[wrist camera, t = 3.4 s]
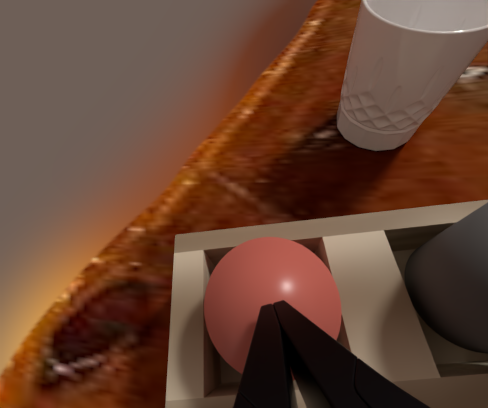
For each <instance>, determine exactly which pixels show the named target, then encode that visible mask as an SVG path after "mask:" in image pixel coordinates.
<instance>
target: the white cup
mask: <svg viewBox="0 0 488 408" xmlns="http://www.w3.org/2000/svg"><path fill="white" fill-rule="evenodd" d="M487 41H488V0H361V5H360V9H359V14H358V18H357V23H356V27H355V31H354V36H353V40H352V44H351V49H350V53H349V57H348V62H347V67H346V72H345V77H344V82H343V86H342V91H341V100H340V104H339V108H338V112H337V128H338V130H339V131H340V133H341V134H342V135H343V137H344V138H345V139H346V140H348V141H349V142H351V143H353V144H354V145H356V146H357V147H360V148H365V149H369V150H374V151H381V150H391V149H395V148H397V147H399V146H401V145H402V144H404V143H406V142H407V141H408V140H409V139H410V138H411V136H412V135H413V134H414V132H415V131H416V130H417V128H418V127H419V126H420V124H421V123H422V122H423V120H424V119H425V118H426V117H427V116H428V115H429V114H431V113H432V111H433V110H434V109H435V108H436V106H437V105H438V104H439V102H440V101H441V100H442V99H443V98H444V96H445V95H446V94H447V93H448V92H449V90H450V89H451V88H452V87H453V85H454V84H455V83H456V82H457V80H458V79H459V78H460V76H461V75H462V74H463V72H464V71H465V70H466V69H467V67H468V66H469V65H470V63H471V62H472V61H473V60H474V58H475V57H476V56H477V54H478V53H479V52H480V50H481V49H482V48H483V47H484V45H485V44H486V43H487Z"/></svg>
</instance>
